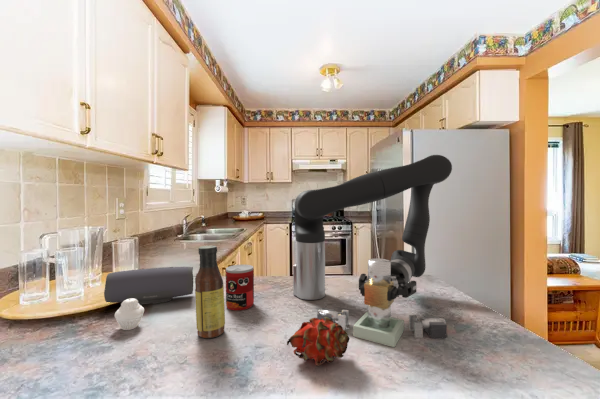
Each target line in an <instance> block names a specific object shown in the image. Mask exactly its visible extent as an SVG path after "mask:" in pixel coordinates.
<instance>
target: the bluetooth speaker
mask: <svg viewBox="0 0 600 399" xmlns="http://www.w3.org/2000/svg"><path fill="white" fill-rule="evenodd" d="M193 271H194V266H166V267H165V266H164V267H150V268H142V269H141V268H138V269H129V270H120V271H113V272H108V273H107V275H106V278H105V284H104V290H103V296H104V301H105V302H106V303H107V302H110V303H112V304H115V303H116V304H117V303H122V302H123V301H124V300H126V299H129V298H130V299H131V298H134V299H137V300H138V303H139V304H140V305H147V304H156V303H157V304H159V303H165V302H170V301H172V300H173V298H177V297H178V298H179V297H185V296H188V295H192V294H194V273H193ZM110 303H109V304H110Z"/></svg>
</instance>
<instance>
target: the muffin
mask: <svg viewBox="0 0 600 399" xmlns="http://www.w3.org/2000/svg"><path fill="white" fill-rule="evenodd" d="M144 312H145V308H144V307H143V306H142V304H139V303H138V300H137V299H134V298H131V299H130V298H129V299H126V300H124V301H123V302H120V307H119V308H118V309H117V310H116V311H115V313H114V319H115V320H116V322H117V324H118V325H119V326H120V328H121V330H123V331H130V330H133V329H136V328H138V327H139V326H138V325H139V324H140V322H141V321H142V318H143V316H144Z"/></svg>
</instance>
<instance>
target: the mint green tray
mask: <svg viewBox="0 0 600 399" xmlns="http://www.w3.org/2000/svg"><path fill="white" fill-rule="evenodd" d="M352 326H353V327H352V332H353V334H352V336H354V338H357V339H362V340H366V341H370V342H373V343H376V344H380V345H385V346H387V347H388V346H389V347H392V348H395V347H396V346H397V344H398V342H399V340H400V338H401V336H402V335H403V333H404V331H405V319H401V318H396V317H394V316H393V317H392V316H391V326H390V327H388V328H375V327H372V326H370V325H369V324H368V311H366V312H365V313H364V314H363V315H362V316H361V317H360V318H359V319H358V320H357V321H356V322H355V323H354V324H353V325H352Z"/></svg>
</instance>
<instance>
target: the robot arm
mask: <svg viewBox="0 0 600 399" xmlns="http://www.w3.org/2000/svg"><path fill="white" fill-rule="evenodd" d="M452 170H453V165H452V162H451V161H450V159H449V158H447V156H444V155H441V154H431V155H428V156H427V157H424V158H423V159H420V160H417V161H415V162H412V163H409V164H405V165H399V166H394V167H389V168H386V169H381V170H376V171H373V172H369V173H365V174H362V175H359V176H357V177H354V178H352V179H349V180H347V181H346V182H343V183H340V184H338V185H334V186H329V187H324V188H323V187H322V188H318V189H308V190H307V189H306V190H303V191H302V192H300V193H299V194H298V195H297V196H296V197H295V200H294V232H295V233H294V234H295V264H293V266H292V270H293V271H292V272H293V273H292V276H293V277H292V278H293V279H292V283H293V285H292V286H293V290H292V291H293V292H292V294H293V296H296V297H297V298H298V299H301V300H306V301H307V300H309V301H313V300H314V301H315V300H319V299H323V298H325V296H326V232H325V230H324V229H325V228H324V223H323V222H324V218H323V217H325V216H327V215H330V214H332V213H334V212H338V211H340V210H342V209H346V208H351V207H352V208H353V207H357V206H362V205H367V204H371V203H374V202H377V201H381V200H384V199H388V198H390V197H393V196H395V195H398V194H400V193H402V192H405V191H407V190H409V189H411V192H410V200H409V207H408V212H407V216H406V220H405V225H404V229H403V231H402V236H401V240H402V241H403V243H405V244H407V245H408V246H411V247H412V248H414V250H415V253H414V252H410V251H407V250H402V249H395V250H394V251H393V252H392V253H391V257H390V261H391V281H393V282H394V284H393V287H391V288H390V289H389V290H388V292H387V300H388V301H392V299H393V300H394V301H395V300H396V299H397V298H399V297H400V296H401V297H402V298H404V299H407V298H409V297H412V296H413V295H414V294H416V293H417V280H411V279H412V278H420V277H422V276H423V275H424V273H425V272H426V255H425V254H426V252H425V248H426V239H427V235H428V233H429V232H428V231H429V228H430V220H431V219H430V215H431V214H430V208H429V207H430V206H429V202H430V201H429V199H430V194H431V191H432V189H433V186H434V185H437V184H440V183H441V182H444V181H446V180H447V179H448V178H449V177H450V175H451V173H452ZM367 281H368V274H366V273H361V274H360V276H359V278H358V290H359V292H360V293H359V294H361V296H362V297H364V296H365V288H364V284H365V283H366V282H367Z"/></svg>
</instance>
